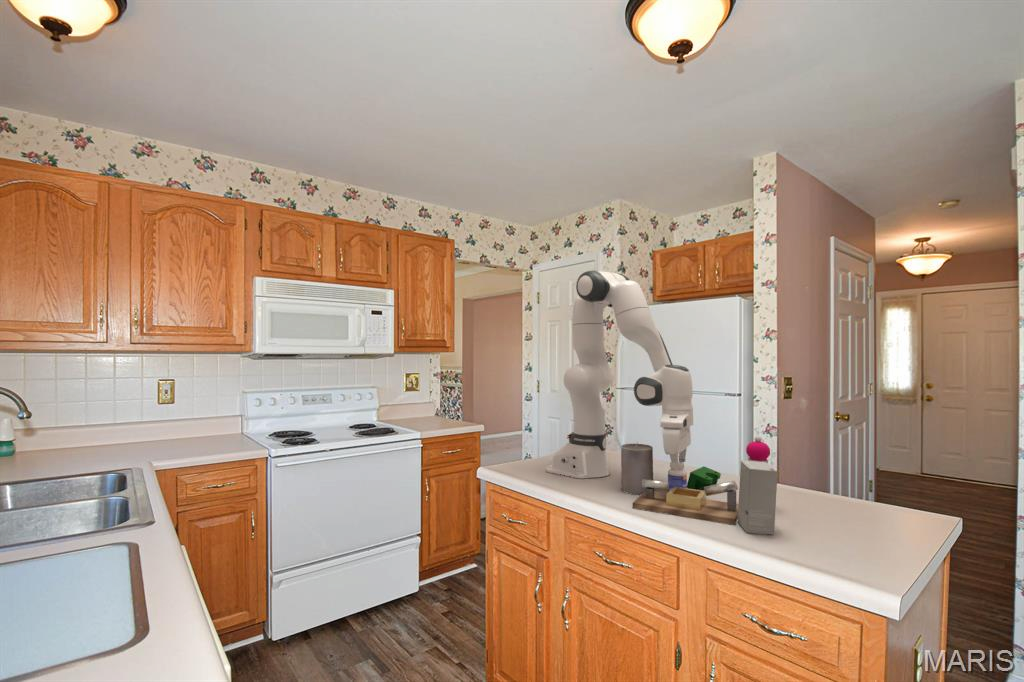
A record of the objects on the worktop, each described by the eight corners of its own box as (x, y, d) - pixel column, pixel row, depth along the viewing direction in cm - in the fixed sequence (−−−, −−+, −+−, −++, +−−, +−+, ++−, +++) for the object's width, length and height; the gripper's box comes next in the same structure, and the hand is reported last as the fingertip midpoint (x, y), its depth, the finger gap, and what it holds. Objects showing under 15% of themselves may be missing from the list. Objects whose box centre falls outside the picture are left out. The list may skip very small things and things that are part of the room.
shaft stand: (632, 508, 138) (632, 474, 138) (646, 495, 150) (646, 464, 150) (734, 525, 125) (734, 487, 125) (741, 509, 137) (740, 475, 137)
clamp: (704, 506, 154) (706, 483, 150) (686, 497, 158) (687, 475, 154) (720, 485, 161) (723, 462, 158) (702, 477, 165) (704, 455, 161)
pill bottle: (686, 499, 147) (686, 465, 147) (667, 497, 148) (667, 464, 149) (687, 494, 152) (686, 461, 152) (668, 492, 153) (668, 460, 154)
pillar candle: (636, 484, 162) (635, 438, 162) (660, 491, 154) (659, 442, 154) (614, 489, 157) (614, 441, 157) (638, 497, 148) (637, 446, 149)
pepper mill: (746, 502, 143) (746, 432, 143) (775, 507, 139) (774, 435, 139) (741, 509, 137) (741, 436, 138) (771, 514, 133) (770, 439, 133)
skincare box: (736, 522, 127) (736, 459, 127) (767, 523, 126) (766, 460, 126) (746, 534, 118) (746, 467, 119) (779, 536, 117) (778, 468, 118)
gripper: (674, 414, 161) (675, 457, 160) (658, 422, 143) (659, 470, 143) (695, 415, 158) (696, 459, 157) (681, 423, 140) (682, 473, 140)
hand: (678, 465), depth 150 cm, fingers open, 8 cm apart
